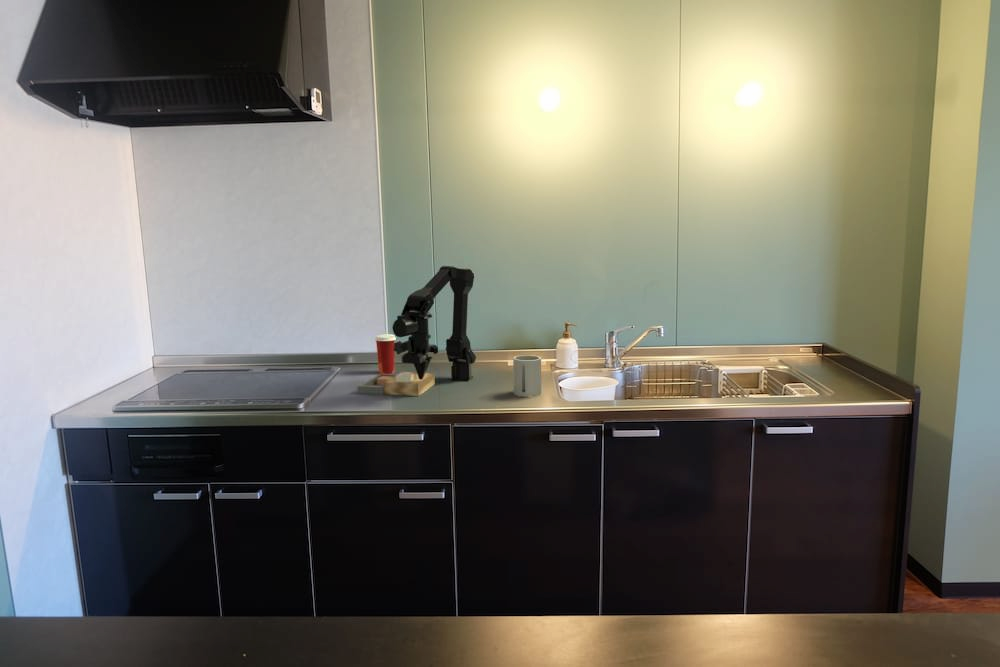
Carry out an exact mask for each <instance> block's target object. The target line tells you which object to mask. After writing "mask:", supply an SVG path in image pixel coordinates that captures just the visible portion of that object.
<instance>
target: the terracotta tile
mask: <svg viewBox="0 0 1000 667" xmlns="http://www.w3.org/2000/svg"><path fill="white" fill-rule="evenodd" d="M390 378H392V377H390V376H381V377H379V378H378V379H377V385H384V382H385V381H387V380H389V379H390Z"/></svg>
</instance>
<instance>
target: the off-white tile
mask: <svg viewBox="0 0 1000 667" xmlns="http://www.w3.org/2000/svg"><path fill="white" fill-rule="evenodd" d="M399 373H400V374H399ZM399 373H398V374H399V375H397V374H396V375H397V376H396V382H405V383H409V382H411V381H412V380H414V374H409V373H401V372H399Z"/></svg>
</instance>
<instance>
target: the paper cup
mask: <svg viewBox="0 0 1000 667" xmlns="http://www.w3.org/2000/svg"><path fill="white" fill-rule="evenodd" d="M396 339H397V338H396V335H395V334H390V333H386V334H384V333H383V334H378V335H376V337H375V343H376V353H377V362H378V363H377V364H378V372H379V374H391V375H392V374H393V373H395V366H396V365H395V360H396V351H394V350H393V349H394V347H393V346H394V343H396Z"/></svg>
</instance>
